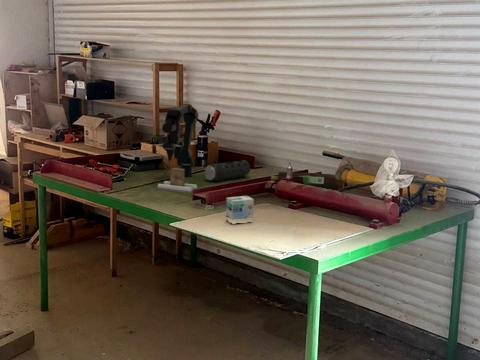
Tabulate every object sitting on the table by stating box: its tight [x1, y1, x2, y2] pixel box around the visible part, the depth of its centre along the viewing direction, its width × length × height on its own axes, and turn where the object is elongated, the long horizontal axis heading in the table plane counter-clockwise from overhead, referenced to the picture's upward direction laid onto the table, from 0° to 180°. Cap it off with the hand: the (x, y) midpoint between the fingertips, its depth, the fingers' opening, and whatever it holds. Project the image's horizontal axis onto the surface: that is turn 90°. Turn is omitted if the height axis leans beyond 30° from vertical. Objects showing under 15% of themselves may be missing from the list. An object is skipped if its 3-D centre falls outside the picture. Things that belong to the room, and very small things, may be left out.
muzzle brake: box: [204, 159, 251, 182], centre depth 339 cm, size 10×28×10 cm, turn 133°
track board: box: [156, 180, 199, 194], centre depth 312 cm, size 11×19×2 cm, turn 70°
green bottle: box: [270, 171, 344, 190], centre depth 317 cm, size 39×10×10 cm, turn 85°
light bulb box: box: [225, 195, 255, 220], centre depth 256 cm, size 11×7×11 cm, turn 117°
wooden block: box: [169, 167, 185, 187], centre depth 311 cm, size 4×6×10 cm, turn 70°
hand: (172, 159), depth 325 cm, fingers open, 9 cm apart
